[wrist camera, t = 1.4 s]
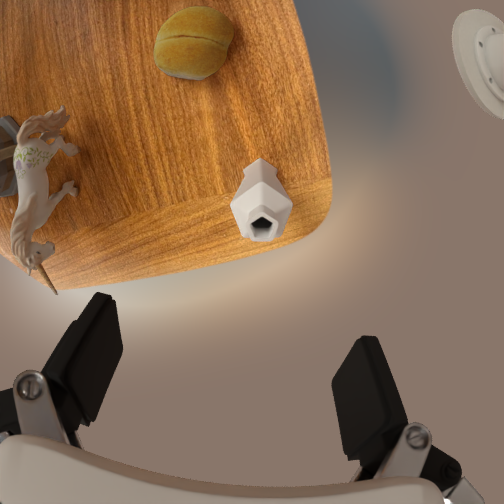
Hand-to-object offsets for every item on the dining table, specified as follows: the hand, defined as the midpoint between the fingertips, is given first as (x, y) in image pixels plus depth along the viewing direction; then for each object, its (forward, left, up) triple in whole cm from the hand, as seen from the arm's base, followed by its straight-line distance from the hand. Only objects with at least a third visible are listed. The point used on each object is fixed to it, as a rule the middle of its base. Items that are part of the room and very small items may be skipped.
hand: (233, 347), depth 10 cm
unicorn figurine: (+22, +2, -25) cm, 33 cm away
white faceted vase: (-1, -1, -25) cm, 25 cm away
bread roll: (+9, -15, -25) cm, 30 cm away
